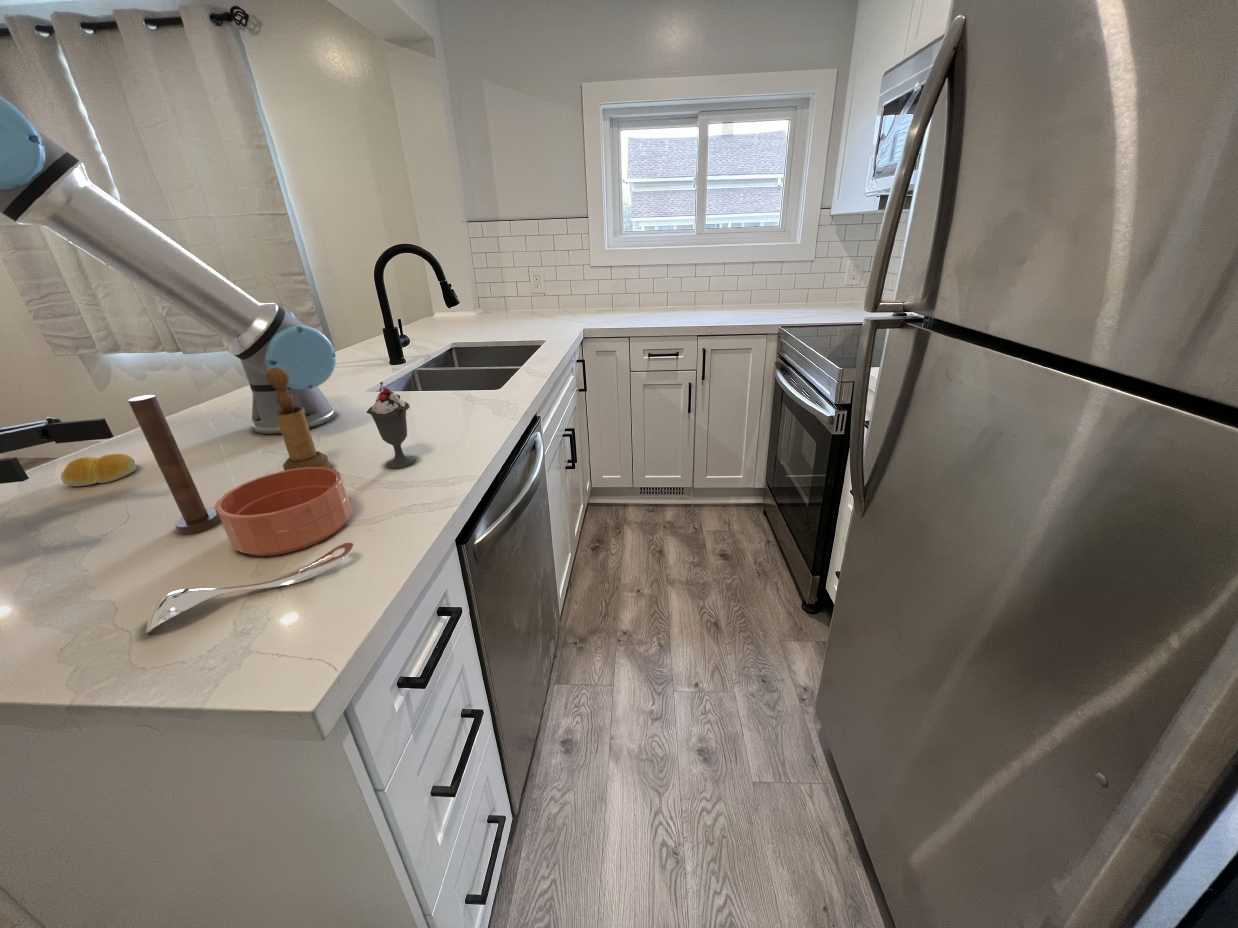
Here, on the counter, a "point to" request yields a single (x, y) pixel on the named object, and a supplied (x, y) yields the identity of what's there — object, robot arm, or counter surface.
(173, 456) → the stick
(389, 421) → the sundae
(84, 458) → the bread roll
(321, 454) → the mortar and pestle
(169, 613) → the metal spatula
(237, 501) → the bowl
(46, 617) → the counter surface
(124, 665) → the counter surface
